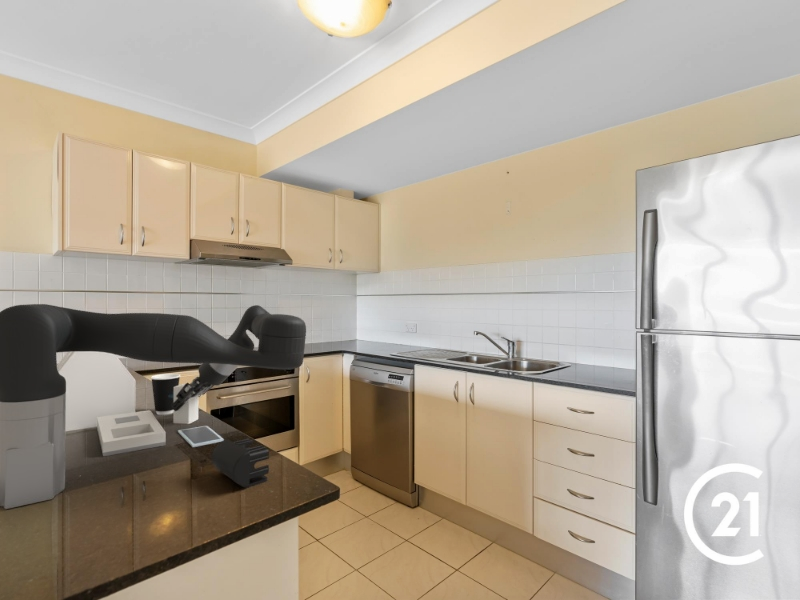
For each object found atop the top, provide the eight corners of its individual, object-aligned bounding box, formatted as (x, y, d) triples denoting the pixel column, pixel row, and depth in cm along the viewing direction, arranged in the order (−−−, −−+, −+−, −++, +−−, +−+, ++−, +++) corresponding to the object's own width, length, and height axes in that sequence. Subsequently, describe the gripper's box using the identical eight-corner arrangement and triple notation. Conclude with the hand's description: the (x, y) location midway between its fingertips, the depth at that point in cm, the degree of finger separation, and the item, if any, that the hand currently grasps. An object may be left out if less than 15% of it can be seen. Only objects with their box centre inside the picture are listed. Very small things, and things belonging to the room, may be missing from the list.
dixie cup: (179, 414, 124) (179, 377, 124) (148, 417, 121) (148, 379, 121) (181, 408, 131) (181, 372, 131) (152, 410, 128) (152, 374, 128)
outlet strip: (165, 445, 99) (165, 431, 99) (103, 456, 91) (103, 442, 91) (149, 420, 118) (149, 409, 118) (96, 428, 110) (97, 416, 110)
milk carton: (45, 434, 105) (46, 334, 105) (45, 420, 117) (46, 330, 117) (135, 421, 118) (136, 331, 118) (127, 409, 129) (128, 328, 129)
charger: (198, 419, 120) (199, 384, 120) (188, 423, 115) (189, 387, 115) (183, 418, 120) (183, 383, 120) (173, 423, 116) (173, 386, 116)
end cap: (211, 476, 82) (211, 442, 82) (246, 466, 87) (246, 434, 87) (232, 494, 75) (233, 456, 75) (269, 482, 80) (270, 446, 80)
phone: (223, 443, 102) (223, 438, 102) (192, 449, 98) (192, 444, 98) (206, 429, 113) (206, 425, 113) (177, 434, 108) (178, 430, 108)
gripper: (215, 379, 109) (171, 423, 111) (242, 370, 123) (203, 409, 125) (196, 358, 110) (153, 402, 111) (225, 351, 124) (186, 390, 126)
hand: (179, 406), depth 118 cm, fingers closed on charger, 4 cm apart
